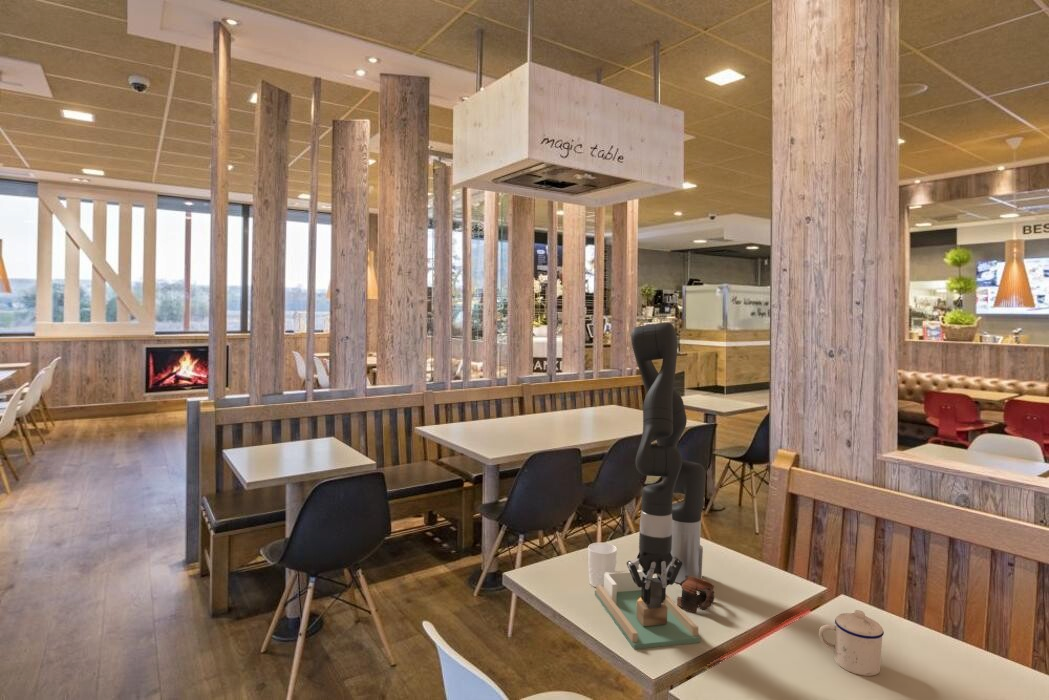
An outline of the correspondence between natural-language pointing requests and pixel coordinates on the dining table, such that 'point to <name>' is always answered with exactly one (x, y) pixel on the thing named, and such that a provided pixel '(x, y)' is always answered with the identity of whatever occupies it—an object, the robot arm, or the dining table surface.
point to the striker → (652, 606)
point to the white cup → (600, 562)
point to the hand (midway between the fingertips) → (652, 602)
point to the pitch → (622, 609)
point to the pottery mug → (695, 594)
